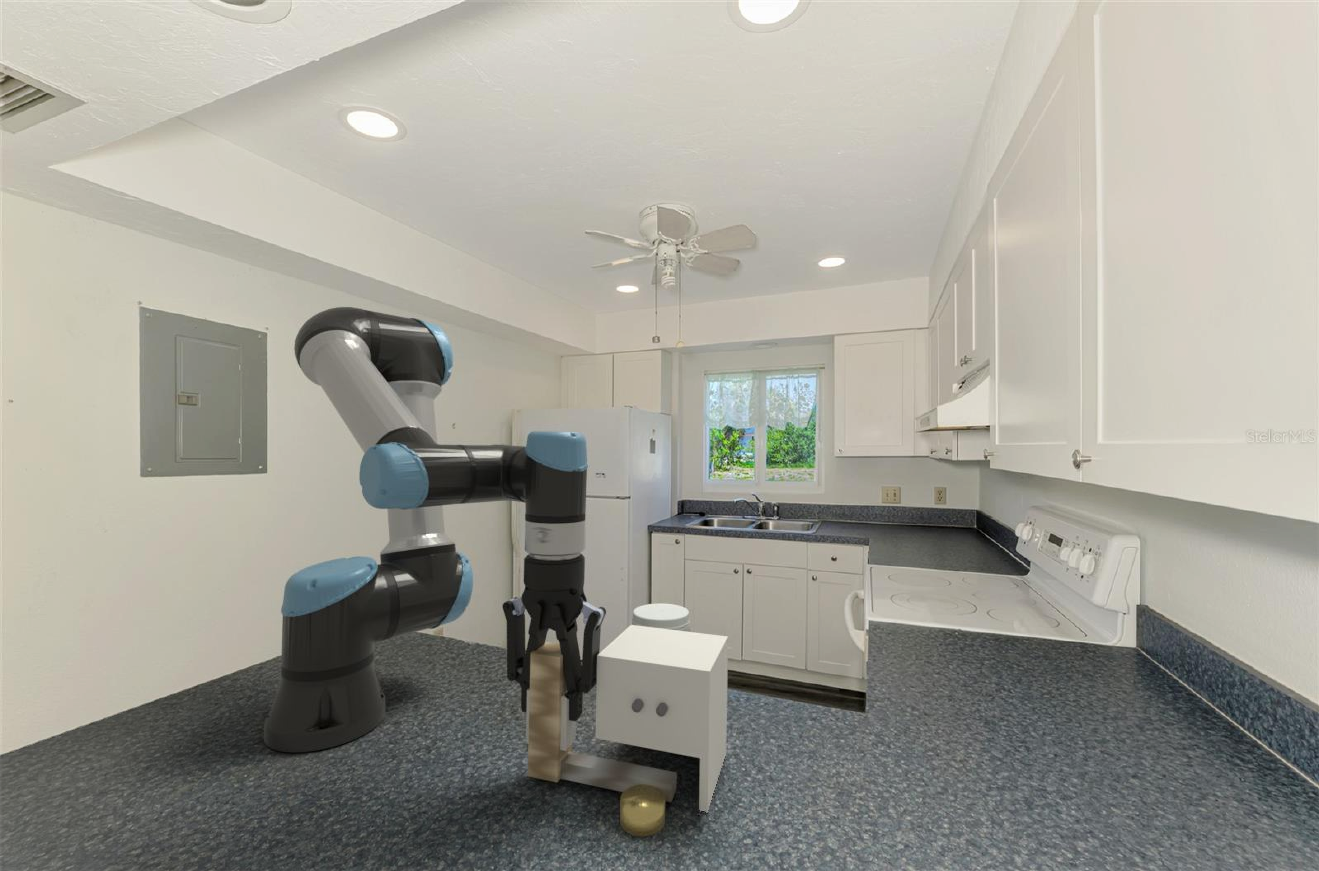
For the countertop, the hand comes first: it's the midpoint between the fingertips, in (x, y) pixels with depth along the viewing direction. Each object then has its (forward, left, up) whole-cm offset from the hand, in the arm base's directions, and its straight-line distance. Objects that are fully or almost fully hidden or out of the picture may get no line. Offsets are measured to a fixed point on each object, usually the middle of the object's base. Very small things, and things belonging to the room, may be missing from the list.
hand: (550, 740), depth 68 cm
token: (+13, -4, -5) cm, 15 cm away
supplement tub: (+7, +24, -5) cm, 25 cm away
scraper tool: (+7, 0, -4) cm, 8 cm away
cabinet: (+13, +6, -5) cm, 15 cm away
